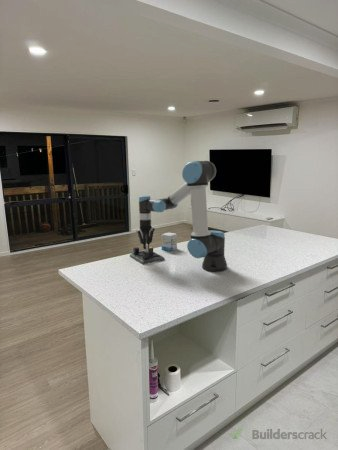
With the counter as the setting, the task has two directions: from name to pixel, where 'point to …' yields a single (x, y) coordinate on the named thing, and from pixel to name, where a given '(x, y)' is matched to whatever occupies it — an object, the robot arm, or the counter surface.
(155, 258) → the panel
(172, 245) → the ink box
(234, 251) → the counter surface
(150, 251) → the handle
